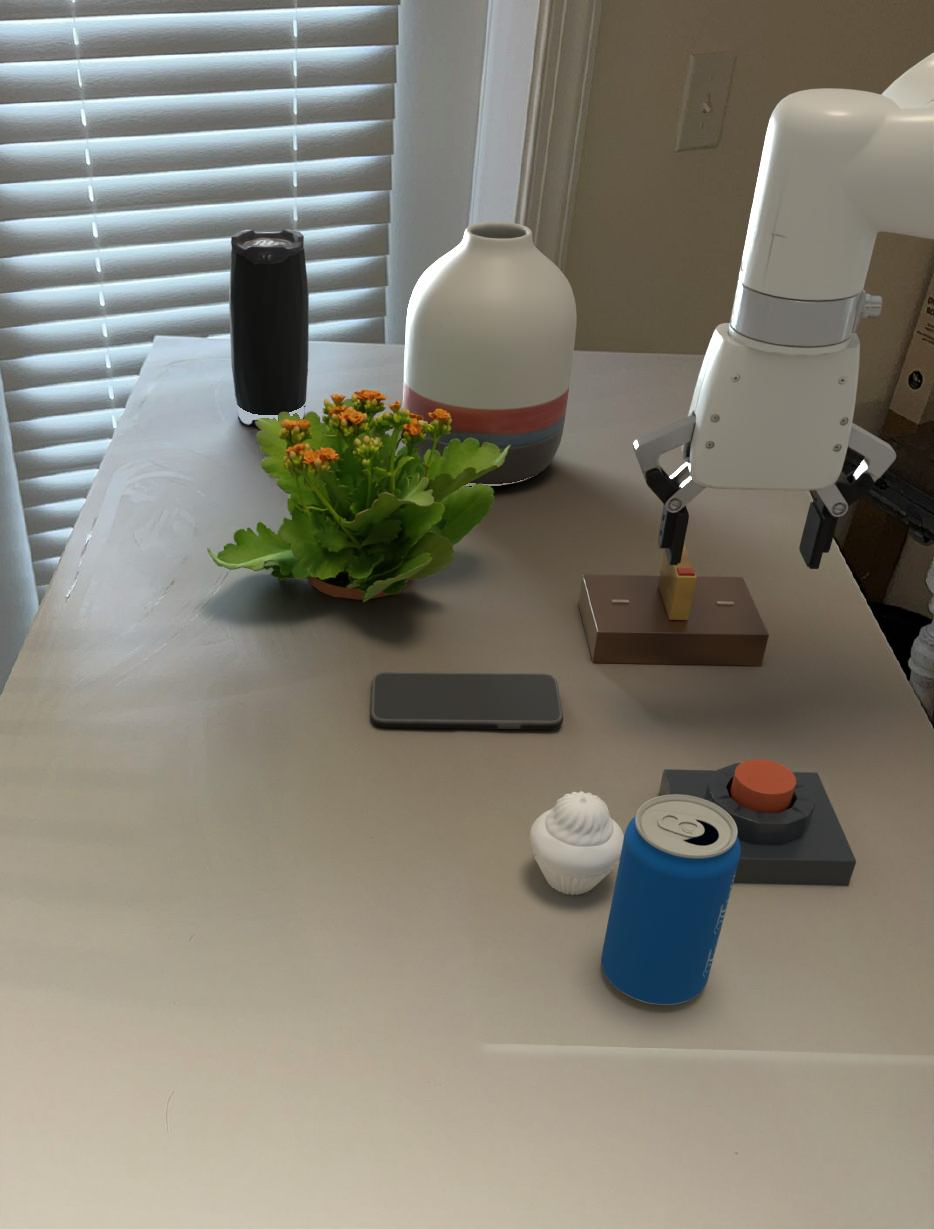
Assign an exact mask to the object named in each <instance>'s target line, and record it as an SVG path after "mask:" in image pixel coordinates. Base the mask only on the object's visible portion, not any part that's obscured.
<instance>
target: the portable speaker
mask: <svg viewBox="0 0 934 1229" xmlns="http://www.w3.org/2000/svg"><path fill="white" fill-rule="evenodd" d="M230 238H231V239H230V244H231V251H230V269H229V270H230V271H229V284H228V286H229V288H228V306H229V308H228V310H229V311H228V312H229V333H230V334H229V336H230V360H231V361H230V362H231V371H232V380H233V388H234V396H235V402H236V406H237V405H238V406H239V407H240V408H242V409H243V410H245V411H247V412H250V413H252V414H258V415H279V414H280V413H281V412H288V413H289V412H292V411H294V410H297V409H299V408H301V407H302V406H303V405H304V404H305V402H306V403H307V392H308V390H307V389H308V375H309V355H310V354H309V350H310V349H309V337H310V336H309V331H310V330H309V329H310V328H309V327H310V326H309V323H310V321H309V320H310V319H309V312H310V311H309V310H310V307H309V304H310V299H309V298H310V296H309V295H310V294H309V284H308V273H307V264H306V255H305V247H304V243H305V241H304V240H305V237H304V234H302V232H301V231H299V230H298V231H297V230H293V229H282V230H280V231H254V230H253V229H245V230H241V231H237V232H234V234H233V235H232V236H231V237H230Z"/></svg>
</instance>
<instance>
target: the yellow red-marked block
mask: <svg viewBox="0 0 934 1229" xmlns="http://www.w3.org/2000/svg"><path fill="white" fill-rule="evenodd" d="M663 549H664V548H663ZM662 555H663V556H662V560H661V567H660V570H659V576H660V577H659V582H658V587H659V590H660V593H661V596H662V599H663V602H664V605H665V608H666V612H667V615H668V618H669V620H688V619H689V614H690V609H691V604H692V599H693V594H694V589H695V584H696V579H697V577H696V576H697V575H696V574H697V573H696V572H695V569H694V567H693V564H692V561H691V558H690V556H689V553H688V550H687V547H686V545H685V544H684V547H683V552H682V557H681V562H680V563H678V564H677V565H669V562H668V559H667V556H666V553H665V549H664V550H663V554H662Z"/></svg>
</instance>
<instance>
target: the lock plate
mask: <svg viewBox="0 0 934 1229" xmlns="http://www.w3.org/2000/svg"><path fill="white" fill-rule="evenodd" d="M581 577H582V578H581V582H580V583H581V584H580V590H579V598H578V607H579V611H580V617H581V620H582V624H583V628H584V633H585V636H586V640H587V645H588V649H589V654H590V657H591V662H592V663H594V664H596V663H597V664H599V663H600V664H643V665H647V664H648V665H694V666H695V665H696V666H697V665H698V666H699V665H700V666H702V665H703V666H748V667H749V666H756V667H757V666H758V667H761V666H762V665H763V661H764V657H765V653H766V648H767V645H768V640H769V638H770V637H769V636H770V633H769V632H768V630H767V628H766V625H765V623H764V621H763V618H762V616H761V614H760V612H759V609H758V607H757V605H756V603H755V600H754V598H753V596H752V594H751V592H750V590H749V588H748V585H747V584H746V581H745V579H744V577H743V576H701V575H700V576H699V575H698V576H697V575H696V577H697V579H696V584H695V589H694V594H693V599H692V604H691V609H690V614H689V619H688V620H669V618H668V615H667V612H666V608H665V605H664V602H663V599H662V596H661V593H660V590H659V587H658V582H659V577H660V575H638V574H582V576H581Z"/></svg>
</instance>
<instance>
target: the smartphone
mask: <svg viewBox="0 0 934 1229" xmlns="http://www.w3.org/2000/svg"><path fill="white" fill-rule="evenodd" d="M559 688H560V687H559V682H558V680H557V678H556V677H555V676H554V675H552V674H549V673H519V672H518V673H517V672H516V673H515V672H514V673H510V672H509V673H508V672H507V673H506V672H505V673H504V672H503V673H502V672H404V671H403V672H401V671H400V672H398V671H397V672H394V671H393V672H392V671H391V672H389V671H387V672H386V671H384V672H383V671H382V672H378V673H376V674H375V675H374V676H373V677H372V679H371V688H370V690H371V691H370V692H371V693H370V714H369V715H370V720H371V722H372V723H373V725H374V726H376V727H379V728H398V729H399V728H402V729H403V728H406V729H407V728H411V729H478V730H479V729H481V730H482V729H485V730H487V729H488V730H493V729H494V730H555V729H558V728H560V727H561V726H562V724H563V722H564V712H563V707H562V701H561V693H560V689H559Z"/></svg>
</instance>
